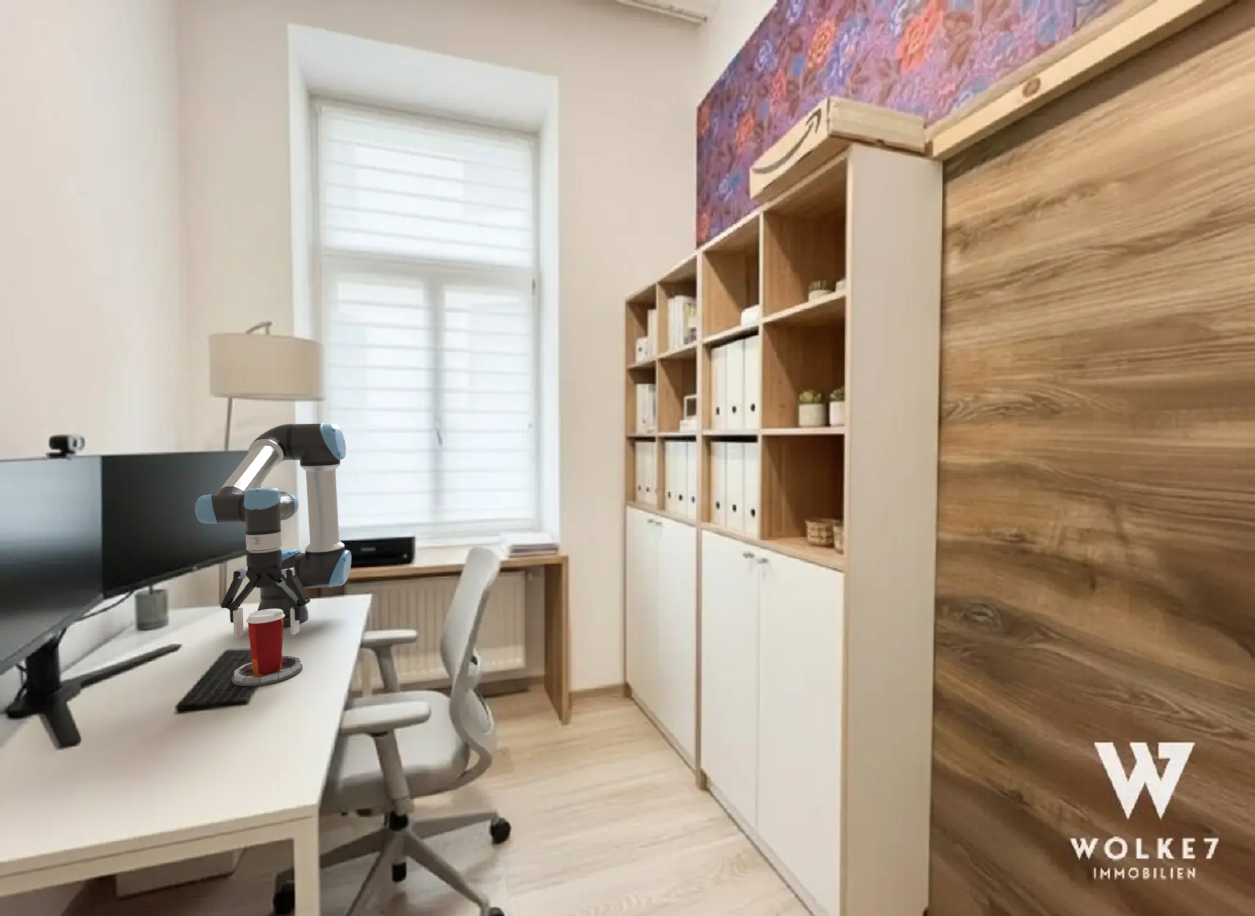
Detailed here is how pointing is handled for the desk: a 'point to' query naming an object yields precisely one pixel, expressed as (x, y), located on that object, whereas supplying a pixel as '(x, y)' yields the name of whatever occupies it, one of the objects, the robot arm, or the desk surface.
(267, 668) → the coffee cup
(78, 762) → the desk surface
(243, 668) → the ring seat
